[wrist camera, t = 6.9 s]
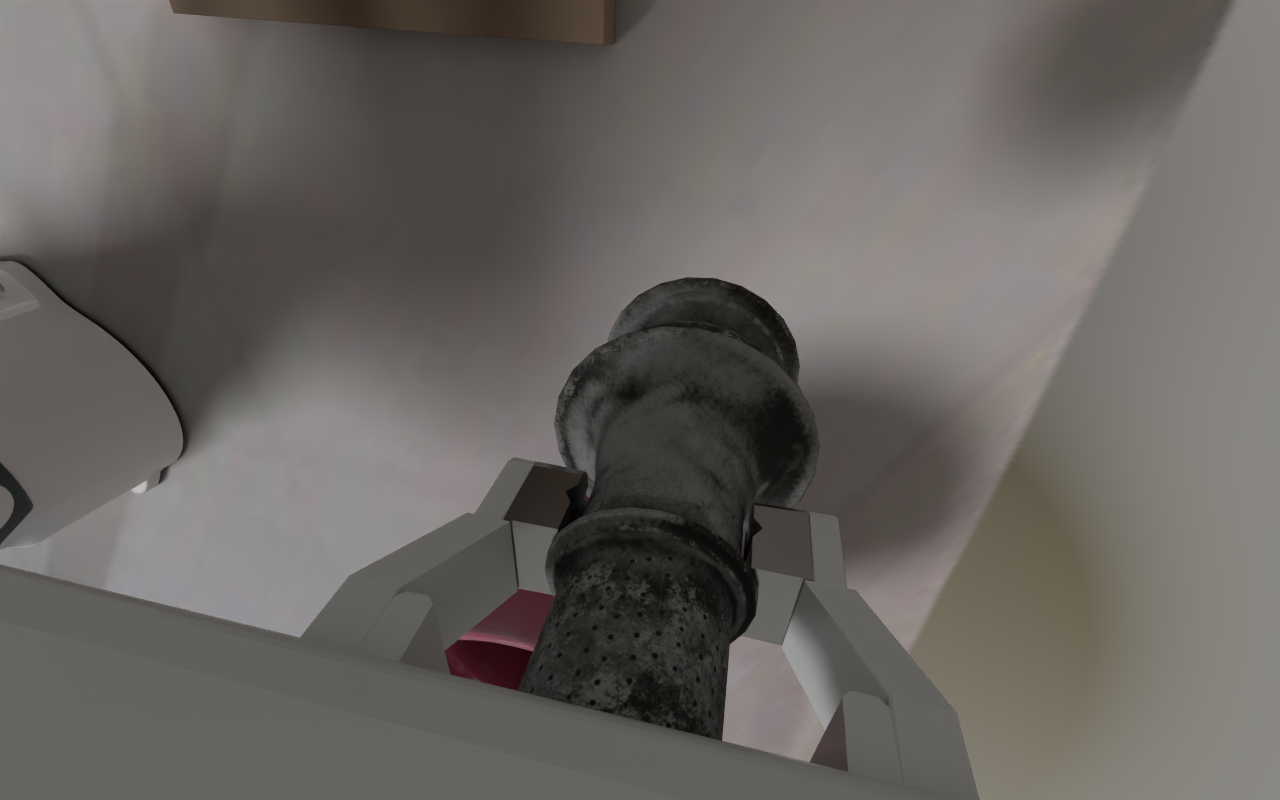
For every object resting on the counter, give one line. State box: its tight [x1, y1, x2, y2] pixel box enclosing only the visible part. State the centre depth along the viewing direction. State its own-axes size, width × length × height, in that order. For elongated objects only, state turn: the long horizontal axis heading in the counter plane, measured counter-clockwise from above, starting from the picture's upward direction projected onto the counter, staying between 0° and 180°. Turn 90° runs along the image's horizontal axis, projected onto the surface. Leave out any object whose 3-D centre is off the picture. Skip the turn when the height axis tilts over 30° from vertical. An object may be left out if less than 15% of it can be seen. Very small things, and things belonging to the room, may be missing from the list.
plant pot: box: [445, 494, 589, 691], centre depth 30 cm, size 14×14×13 cm
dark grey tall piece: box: [518, 277, 820, 741], centre depth 10 cm, size 6×6×12 cm
